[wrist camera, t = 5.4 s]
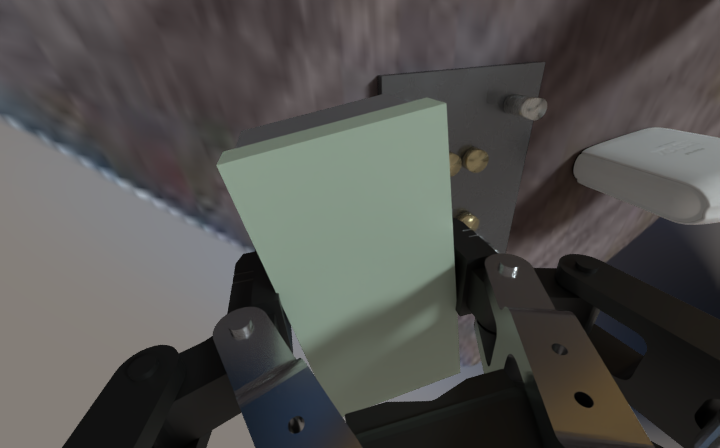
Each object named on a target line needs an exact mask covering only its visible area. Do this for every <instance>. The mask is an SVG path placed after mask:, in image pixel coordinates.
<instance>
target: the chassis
mask: <svg viewBox="0 0 720 448" xmlns="http://www.w3.org/2000/svg"><path fill="white" fill-rule="evenodd" d="M544 67H545V62H527V63H516V64H504V65H493V66H481V67H470V68H458V69H447V70H435V71H424V72H412V73H401V74H389V75H378V95H381V94H385V93H387V94H389V95H392V96H395V97H398V98H401V99H403V100H406V101H409V102H412V101H415V100H419V99H423V98H431V99H434V100H437V101H441V102H444V103H446V105H447V124H448V144H449V163H450V183H451V202H452V217H453V218H456V219H458V220H460V221H462V222H464V223H465V224H466V225H467V226H468V227H469V228H470V230H473V231H474V232H475V233H476V234H477V236H479V237H480V238H482V239H483V240H484V241H485V242H486V243H487V244H488V245H489V246H491V247H492V248H493V249H494V250H495V251H496V252H497V253H499V254H500V253H504V254H505V253H506V248H507V243H508V239H509V234H510V229H511V224H512V219H513V215H514V210H515V205H516V200H517V196H518V191H519V186H520V181H521V177H522V172H523V167H524V162H525V158H526V153H527V148H528V143H529V139H530V134H531V129H532V124H533V120H538V119H540V118H542V117H543V115H544V114H545V112H546V110H547V102H546V100H545V99H543V98H538V96H539V91H540V86H541V81H542V77H543V72H544Z"/></svg>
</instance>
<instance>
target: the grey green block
mask: <svg viewBox="0 0 720 448" xmlns="http://www.w3.org/2000/svg"><path fill="white" fill-rule="evenodd" d="M217 168H218V170H219V172H220V174H221V176H222V178H223V180H224V183H225V185H226V187H227V189H228V191H229V193H230V195H231V198H232V200H233V202H234V204H235V206H236V208H237V210H238V212H239V215H240V217H241V219H242V221H243V223H244V225H245V227H246V230H247V232H248V234H249V236H250V238H251V240H252V242H253V245H254V247H255V249H256V251H257V253H258V255H259V257H260V260H261V262H262V264H263V266H264V268H265V270H266V272H267V275H268V277H269V279H270V281H271V283H272V285H273V287H274V290H275V292H276V293H279V297H280V301H281V305H282V307H283V309H284V311H285V313H286V315H287V317H288V320H289V322H290V324H291V326H292V328H293V330H294V332H295V335H296V337H297V339H298V341H299V343H300V345H301V347H302V350H303V352H304V354H305V356H306V358H307V360H308V362H309V364H310V367H311V369H312V371H313V373H314V375H315V377H316V379H317V380H318V382H319V383H320V385H321V386H322V388H323V389H324V391H325V392H326V394H327V395H328V397H329V398H330V400H331V401H332V403H333V404H334V406H335V407H336V409H337V410H338V411H339V413H340V414H341V416H342V417H344V416H345V414H347V413H350V412H354V411H357V410H361V409H364V408H368V407H370V406H373V405H376V404H378V403H381V402H384V401H386V400H389V399H392V398H394V397H397V396H400V395H402V394H405V393H408V392H410V391H413V390H416V389H418V388H421V387H423V386H426V385H429V384H432V383H434V382H437V381H440V380H442V379H445V378H447V377H450V376H453V375H455V374H458V373H460V358H459V338H458V319H457V312H456V310H455V309H456V301H457V299H456V280H455V260H454V241H453V222H452V202H451V183H450V163H449V144H448V124H447V105H446V103H444V102H441V101H437V100H434V99H431V98H423V99H419V100H415V101H412V102H409V101H406V100H403V99H401V98H398V97H395V96H392V95H389V94H387V93H385V94H381V95H378V96H374V97H370V98H366V99H362V100H358V101H355V102H351V103H347V104H343V105H339V106H335V107H332V108H328V109H324V110H320V111H316V112H312V113H309V114H305V115H301V116H297V117H293V118H289V119H286V120H282V121H278V122H274V123H270V124H267V125H263V126H259V127H255V128H251V129H247V130H244V131H242V132H241V134H240V137H239V139H238V142H237V145H236V147H235V149H232V150H228V151H224V152H223V153H222V155H221V157H220V159H219V161H218V163H217Z"/></svg>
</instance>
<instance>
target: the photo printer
mask: <svg viewBox="0 0 720 448" xmlns="http://www.w3.org/2000/svg"><path fill="white" fill-rule="evenodd" d="M573 173H574V176H575V178H577V182H578V183H580V184H582V185H584V186H587V187H589V188H592V189H594V190H597V191H599V192H602V193H604V194H607V195H609V196H611V197H614V198H616V199H619V200H621V201H624V202H626V203H629V204H631V205H634V206H636V207H638V208H641V209H643V210H646V211H648V212H651V213H653V214H656V215H658V216H660V217H663V218H665V219H668V220H670V221H673V222H676V223H680V224H709V223H717V222H720V138H717V137H712V136H706V135H701V134H695V133H690V132H684V131H679V130H673V129H667V128H647V129H643V130H640V131H636V132H633V133H630V134H626V135H623V136H620V137H617V138H614V139H611V140H608V141H605V142H602V143H600V144H597V145H594V146H592V147H589V148H587V149H585V150H583V151H582V154H580V155H579V156H578V157H577V159H576V161H575V164H574V169H573Z"/></svg>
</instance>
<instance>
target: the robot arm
mask: <svg viewBox="0 0 720 448" xmlns="http://www.w3.org/2000/svg"><path fill="white" fill-rule="evenodd" d="M452 222H453V241H454V260H455V280H456V299H457V301H456V309H455V310H456V312H457V313H458V314H459V316H463V315H467V314H471V313H472V314H473V315H474V316H475V322H474V330H475V334H476V339H477V343H478V348H479V352H480V357H481V361H482V365H483V371H484V374H482V375H478V376H475V377H471V378H468V379H466V380H464V381H463V382H461V383H460V384H458V385H457V386H455V387H454V388H452V389H451V390H449V391H448V392H446V393H445V394H443V395H441V396H440V397H438V398H437V399H435V400H432V401H415V402H385V403H382V404H378V405H375V406H371V407H368V408H364V409H361V410H357V411H354V412H350V413H347V414H345V419H346V422H345V420H344V419H343V417H342V416H341V414H340V413H339V411H338V410H337V409H336V407H335V406H334V404H333V403H332V401H331V400H330V398H329V397H328V395H327V394H326V392H325V391H324V389H323V388H322V386H321V385H320V383H319V382H318V380H317V379H316V377H315V376H314V374H313V373H312V371H311V370H310V369H309V367H308V366H307V364H306V363H305V362H304V361H303V359H301V358H299V359H296V358H295V357H294V355H293V347H292V333H291V324H290V322H289V320H288V317H287V315H286V313H285V311H284V309H283V307H282V305H281V301H280V297H279V293H276V292H275V290H274V287H273V285H272V283H271V281H270V279H269V277H268V275H267V272H266V270H265V268H264V266H263V264H262V262H261V260H260V257H259V255H258V253H257V251H256V249H255V252H251V253H246V254H243V255H242V256H241V258H240V259H239V260H238V262H237V263H236V265H235V271H234V277H233V284H232V290H231V295H230V302H229V307H228V313H227V315H226V316H224V317H223V318H222V319H221V320H220V321H219V322H218V323H217V325H216V326H215V328H214V331H213V336H212V337H210V338H209V339H207V340H206V341H204V342H202V343H200V344H198V345H196V346H194V347H192V348H190V349H188V350H185V351H183V352H181V353H179V354H178V352H177V350H176V349H175V348H174V347H172V346H168V345H158V346H153V347H150V348H147V349H145V350H142V351H140V352H138V353H137V354H135V355H133V356H132V357H130V358H129V359H128V360H127V361H125V362H124V363H123V364H122V365H121V366H120V367H119V368H118V369H117V371H116V372H115V373H114V375H113V376H112V378H111V379H110V380H109V382H108V383H107V385H106V386H105V387H104V389H103V390H102V392H101V393H100V395H99V396H98V397H97V399H96V400H95V402H94V403H93V404H92V406H91V407H90V409H89V410H88V412H87V413H86V415H85V416H84V417H83V419H82V420H81V421H80V423H79V424H78V426H77V427H76V429H75V430H74V432H73V433H72V434H71V436H70V437H69V439H68V440H67V441H66V443H65V444H64V446H63V447H62V448H206V447H207V444H208V441H209V438H210V435H211V432H212V430H213V429H215V428H216V427H218V426H220V425H221V424H223V423H224V422H226V421H228V420H230V419H231V418H233V417H235V416H236V415H238V414H240V413H242V415H243V418H244V420H245V423H246V425H247V428H248V430H249V433H250V435H251V438H252V440H253V443H254V446H255V448H663V447H661V446H660V445H657V444H656V443H654V442H652V441H650V439H649V437H648V436H647V434H646V432H645V431H644V429H643V427H642V426H641V424H640V422H639V421H638V419H637V417H636V416H635V414H634V412H633V411H632V409H631V407H630V406H632V407H633V408H634V409H636V410H637V411H638V412H639V413H641V414H642V415H643V416H644V417H646V418H647V419H648V420H649V421H651V422H652V423H653V424H655V425H656V426H657V427H658V428H660V429H661V430H662V431H663V432H665V433H666V434H667V435H668V436H670V437H671V438H672V439H674V440H675V441H676V442H677V443H679V444H680V445H681V446H682V447H684V448H720V320H719V319H717V318H715V317H713V316H711V315H709V314H707V313H705V312H703V311H701V310H699V309H697V308H695V307H693V306H691V305H689V304H687V303H685V302H683V301H681V300H679V299H677V298H675V297H673V296H671V295H669V294H667V293H665V292H663V291H661V290H659V289H657V288H655V287H653V286H650V285H649V284H647V283H645V282H643V281H641V280H638V279H637V278H635V277H633V276H631V275H628V274H626V273H624V272H622V271H620V270H618V269H616V268H614V267H612V266H610V265H608V264H606V263H604V262H602V261H600V260H598V259H596V258H593V257H590V256H586V255H579V254H569V255H565V256H563V257H561V258H560V260H559V263H558V266H557V268H533V267H532V265H531V264H530V263H529V262H527V261H526V260H524V259H523V258H521V257H518V256H515V255H511V254H504V253H500V254H499V253H497V252H496V251H495V250H494V249H493V248H492V247H491V246H489V245H488V244H487V243H486V242H485V241H484V240H483V239H482V238H480V237H479V236H477V234H476V233H475V232H474V231H473V230H470V228H469V227H468V226H467V225H466V224H465V223H464V222H462V221H460V220H458V219H456V218H453V217H452ZM600 310H601V311H603V312H604V313H606V314H608V315H609V316H611V317H612V318H614V319H616V320H617V321H619V322H621V323H622V324H624V325H625V326H627V327H629V328H630V329H632V330H634V331H635V332H637V333H638V334H639V335H640V336H641V337H642V338H643V339H644V340H645V342H646V344H647V352H646V353H645V355H644V356H643V355H641V354H639V353H638V352H636V351H635V350H633V349H632V348H630V347H629V346H627V345H626V344H624V343H622V342H621V341H620V340H618V339H617V338H615V337H614V336H612V335H611V334H609V333H608V332H606V331H605V330H603V329H602V328H600V327H598V326H597V325H595V324H594V323H595V320H596V318H597V316H598V314H599V312H600ZM629 405H630V406H629Z"/></svg>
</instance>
